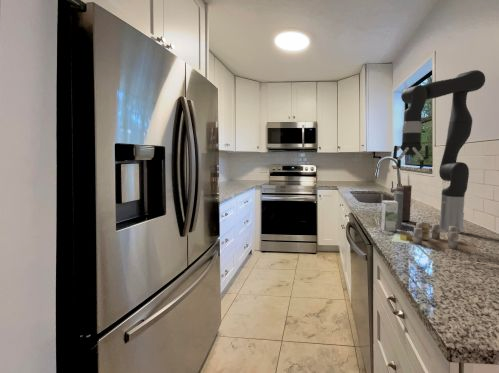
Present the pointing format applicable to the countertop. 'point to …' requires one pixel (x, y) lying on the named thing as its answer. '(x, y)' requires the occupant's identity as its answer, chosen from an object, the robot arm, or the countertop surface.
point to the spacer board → (441, 243)
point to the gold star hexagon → (405, 236)
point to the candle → (406, 202)
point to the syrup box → (389, 215)
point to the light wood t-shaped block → (425, 230)
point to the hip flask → (399, 205)
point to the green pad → (397, 239)
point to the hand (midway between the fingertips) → (409, 168)
